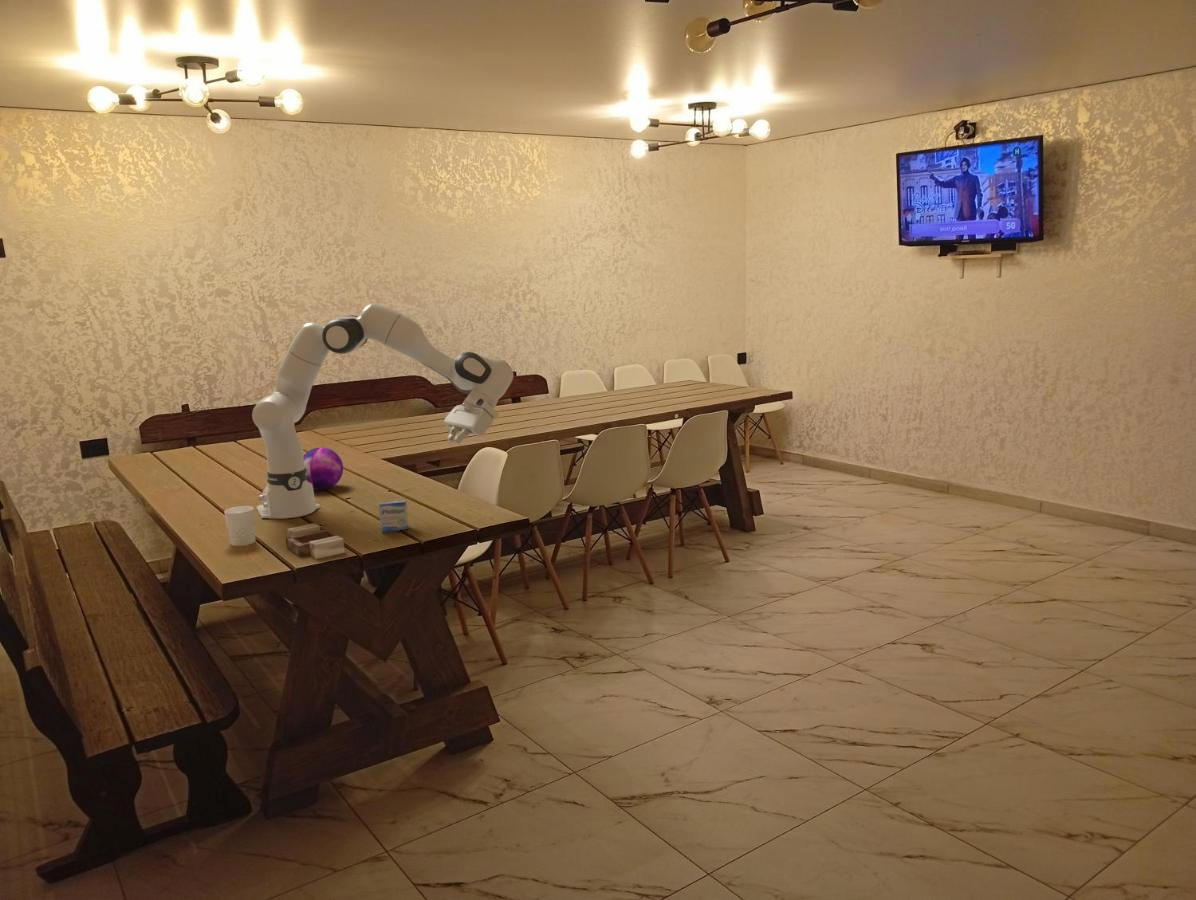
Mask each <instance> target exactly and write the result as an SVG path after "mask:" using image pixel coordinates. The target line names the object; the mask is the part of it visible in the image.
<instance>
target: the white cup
mask: <svg viewBox="0 0 1196 900" xmlns="http://www.w3.org/2000/svg"><path fill="white" fill-rule="evenodd" d="M224 518H225V523H226V529H227V534H228V536H229V544H230V545H231V546H233V547H243V546H248V545H249V544H250V545H252V544H254V543H256V521H255V509H254V506H251V505H241V506H240V505H239V506H234V507H229V508H227V509H225V510H224Z"/></svg>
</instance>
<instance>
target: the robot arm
mask: <svg viewBox="0 0 1196 900" xmlns="http://www.w3.org/2000/svg"><path fill="white" fill-rule="evenodd" d="M368 340H374V341H377V342H378V343H381V344H382V345H384V346H386V347H388V348H390V349H391V350H394V351H395V352H399V353H401V354H403V355H405V356H406V357H409V358H411V359H413V360H415V361H417V362H419V363H421V364H422V365H424V366H425V367H427V368H429V369H431V370H432V371H434V372H436V373H437V374H439V375H441V376H443V377H444V378H446V379H447V380H448V381H449V382H450V383H451V384H452V386H453V387H454V388H455V389H456V390H457V391H458V392H460V393H463V394H467V396H466V398H465V399H464V400H463V402H462V403H461V404H457V405H455V406H454V407H453V408H452V409H451V410H450V412H449V413H448V414H447V416H445V418H444V419H443V424H444V425H445V426H446V427H447V428H449V429H450V430H449V434H448V435H447V436H446V439H447V441H448V442H449V443H450V442H451V443H453V442H454V443H455V444H457V445H458V444H461V443H462V441H463V440H464V439H466V438H468V436H469V435H474V436H480V437H481V436H483V435H484V434H486V432H487V430H488V429H489V428H490V427H491V425H492V424H493V422H494V420H496V419H497V418H498V417H499V412H498V411H497V410H496V409H495V408H496V406H497V404H498V401H499V400H500V398H502V397H503V396H504V395H505V393H507V390H508V388H510V386H511V384H512V382H513V379H514V371H513V369H512V367H511V366H510V365H509V364H508V362H506V361H505V360H503V359H501V358H491V357H485V356H482V355H479V354H478V353H476V352H471V351H465V352H463V353H461V354H459V355H458V356H457V357H456V359H454V358H452V357H451V356H449V355H447V354H445V353H443V351H440V350H438V349H437V348H436V347H434V346H433V345H432V344H431V343H430V341H429V339H428V338H427V335H426V334H425V332H424V329H422V326H421V325H419V324H418V323H417V322H416V321H414V320H413V319H412V318H410V317H408V316H407V315H404V314H403V313H401V312H400V311H397V310H396V309H395V310H394V309H393V308H390V307H387V306H384V305H382V304H378V303H368V304H367V305H366V306H365V307H364V308H362V309H361V312H360V313H359V315H352V314H348V315H341V316H339V317H336V318H335V319H332V320H330V321H329V322H328V323H326V325H323V324H320V323H319V322H312V321H311V322H306V323H304V324H302V326H301V327H300V328H299V330H298V331H297V333H296V335H295V336H294V338H293V340H292V341H291V343H290V345H289V347H288V349H287V351H286V353H285V356H284V358H283V359H282V361H281V364H280V366H279V368H278V371H277V374H278V375H277V379H276V384H275V387H274V390H273V392H272V393H271V394H270V395H267V396H265V397H263V398H261V399H260V400H259V401H258V402H257V403H256V404H255V406H254V407H253V409H252V411H251V412H252V413H251V418H252V421H253V423H254V425H255V426H256V427H257V428H258V431H259V433H260V435H261V439H262V441H263V444H264V449H265V454H266V460H267V461H266V462H267V463H266V464H267V470H268V471H267V472H266V473H267V475H266V482H267V484H266V486H265V488H264V489H263V491H262V494H259V495H258V499H259V503H263V504H259V505H256V511H257V510H258V511H257V512H258V514H259V516H260V515H261V516H260V518H261V517H262V518H269V519H290V518H291V519H292V518H299V517H303V516H307V515H309V514H312V513H314V512H315V511H317V510H318V509H320V508H321V505H320V503H316V497H315V494H314V493H315V492H314V489H313V486H312V484H311V483H309V482H308V481H307V471H306V468H305V466H304V449H303V448H304V447H303V444H302V442H301V441H300V439H299V437H298V434H297V432H296V427H295V424H296V423H297V422H299V421H300V420H301V419H302V417H303V416H304V414H305V412H306V409H307V404H308V400H309V398H310V394H311V391H312V388H313V385H314V383H315V380H316V378H317V377H318V375H319V372H320V371H321V369H322V366H323V364H324V361H325V360H326V357H327V356H328V354H329V353H330V352H332V353H334V354H339V355H344V354H345V355H346V354H348V353H351V352H355V351H356V350H359V348H362V347H363V346H364V345H365V344H366V343H367V341H368ZM459 432H460V433H459ZM458 433H459V434H458ZM457 434H458V435H457ZM262 518H261V519H262Z"/></svg>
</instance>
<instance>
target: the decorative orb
mask: <svg viewBox="0 0 1196 900" xmlns="http://www.w3.org/2000/svg"><path fill="white" fill-rule="evenodd" d="M303 456H304V466H305V468H306V471H307V481H308V482H309V483H311V484H312V486H313V490H320V491H323V490H329V489H330V488H333V487H334V486H336V485H337V484H338V483H339V482H340V480H341V479H342V476H343V473H344V464H343V460H342V458H341V457H340V455H339V454H338V453H337V452H336V451H334V450H332V449H330V448H327V447H315V448H313V449H310V450H308V451H307V452H306V453H305V454H303Z"/></svg>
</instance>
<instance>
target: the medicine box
mask: <svg viewBox="0 0 1196 900" xmlns="http://www.w3.org/2000/svg"><path fill="white" fill-rule="evenodd" d="M407 507H408V506H407V500H406V499H405V498H404V499H403V498H402V499H393V500H385V501H379V502H378V510H379V518H380V519H379V520H380V521H379V522H380V530H381V533H382V532H386V533H393V531H395V532H401V531H400V530H403V531H405V530H404V529H408V530H409V521H408V520H409V518H408V508H407Z"/></svg>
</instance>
